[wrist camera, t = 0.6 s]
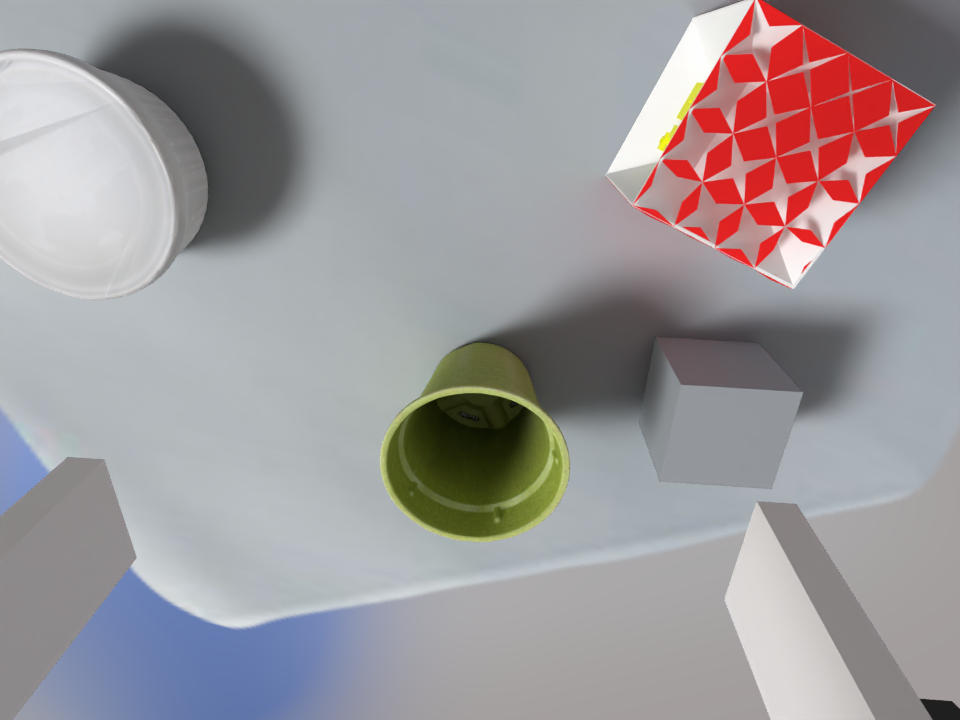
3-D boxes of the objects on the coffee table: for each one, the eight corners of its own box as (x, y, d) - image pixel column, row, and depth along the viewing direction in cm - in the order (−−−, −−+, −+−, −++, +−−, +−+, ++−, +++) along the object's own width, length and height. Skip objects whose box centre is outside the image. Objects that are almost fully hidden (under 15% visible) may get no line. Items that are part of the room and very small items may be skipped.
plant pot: (582, 343, 34) (601, 421, 27) (527, 464, 39) (530, 562, 31) (431, 295, 34) (406, 361, 26) (392, 423, 38) (361, 514, 30)
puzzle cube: (693, 17, 27) (756, -5, 20) (830, 97, 28) (936, 104, 21) (603, 176, 30) (630, 208, 23) (729, 242, 31) (792, 291, 24)
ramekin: (66, 0, 28) (-25, -15, 23) (265, 154, 31) (219, 168, 26) (-5, 184, 32) (-95, 203, 28) (175, 305, 35) (122, 341, 30)
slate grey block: (654, 336, 34) (680, 384, 29) (758, 342, 34) (803, 392, 28) (638, 422, 37) (659, 481, 31) (733, 428, 37) (771, 489, 31)
